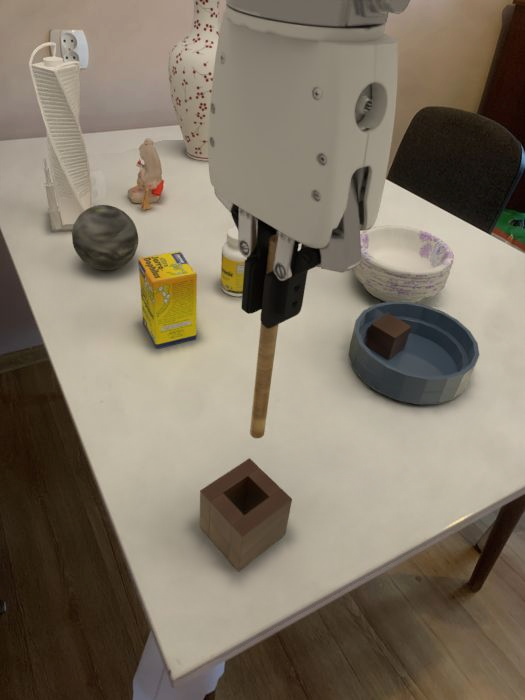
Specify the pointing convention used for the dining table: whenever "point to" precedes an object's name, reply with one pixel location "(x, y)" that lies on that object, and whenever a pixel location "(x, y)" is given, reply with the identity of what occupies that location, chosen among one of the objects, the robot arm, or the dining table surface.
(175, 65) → the vase
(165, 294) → the supplement box
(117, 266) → the decorative stone
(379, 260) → the paper bowls
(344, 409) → the dining table surface
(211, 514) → the stick holder
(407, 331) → the walnut cube
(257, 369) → the bamboo stick
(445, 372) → the stir bowl
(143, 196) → the figurine
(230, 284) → the supplement bottle
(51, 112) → the skyscraper
